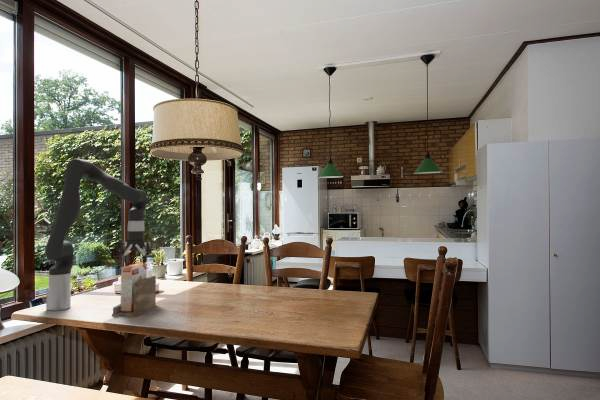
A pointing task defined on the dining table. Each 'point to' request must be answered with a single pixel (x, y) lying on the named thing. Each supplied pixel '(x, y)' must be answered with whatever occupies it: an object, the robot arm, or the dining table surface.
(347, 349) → the dining table surface
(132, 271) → the cracker box
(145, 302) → the grey l-shaped bracket
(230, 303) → the dining table surface
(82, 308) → the dining table surface
